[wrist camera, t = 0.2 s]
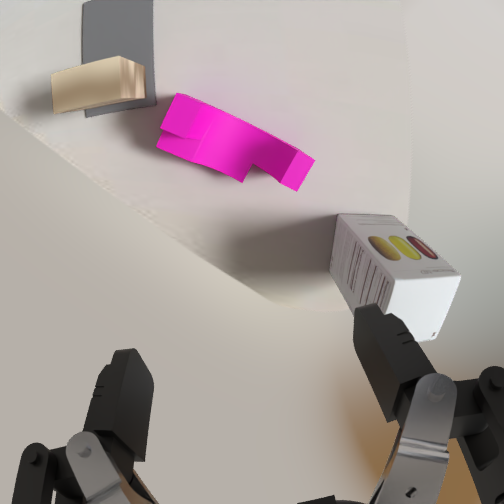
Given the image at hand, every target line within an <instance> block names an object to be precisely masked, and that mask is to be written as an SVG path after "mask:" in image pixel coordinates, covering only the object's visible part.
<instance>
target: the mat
mask: <svg viewBox="0 0 504 504" xmlns="http://www.w3.org/2000/svg"><path fill="white" fill-rule="evenodd" d="M115 56H121V57H123V58H126V59H128V60H131V61H133V62H136V63H138V64H141V65H143V66H145V75H146V93H147V98H145V99H139V100H133V101H127V102H122V103H116V104H111V105H106V106H102V107H97V108H92V109H86V118H88V117H92V116H97V115H102V114H106V113H112V112H117V111H122V110H128V109H134V108H140V107H147V106H154V105H156V96H155V78H154V52H153V0H91V1H88V2H85V3H84V9H83V64H87V63H91V62H94V61H98V60H102V59H106V58H111V57H115Z"/></svg>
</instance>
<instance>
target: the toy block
mask: <svg viewBox="0 0 504 504" xmlns="http://www.w3.org/2000/svg"><path fill="white" fill-rule="evenodd" d="M160 128H161V129H163V132H162V134H161V136H160V139H159V141H158V143H157V145H156V147H157V148H159V149H162V150H164V151H167V152H169V153H171V154H174V155H176V156H178V157H181V158H183V159H185V160H188V161H190V162H194V163H198V164H201V165H205V166H207V167H210V168H213V169H215V170H218V171H220V172H222V173H224V174H226V175H228V176H230V177H232V178H234V179H236V180H238V181H240V182H241V183H243V181H244V179H245V177H246V175H247V173H248V171H249V169H250V167H251V166H252V164H254V165H256V166H258V167H259V168H261V169H262V170H264V171H265V172H267V173H268V174H270V175H271V176H273V177H274V178H275V179H276V180H277V181H278V182H279V183H281V184H283V185H285V186H287V187H289V188H291V189H293V190H295V191H296V192H297V191H298V189H299V187H300V186H301V184H302V182H303V180H304V179H305V177H306V175H307V174H308V172H309V170H310V168H311V167H312V165H313V163H314V161H315V160H314V159H312V158H311V157H310V156H308V155H307V154H305V153H304V152H302V151H301V150H299V149H297V148H296V147H294V146H292V145H290V144H288V143H286V142H285V141H283V140H281V139H279V138H277V137H275V136H273V135H271V134H269V133H267V132H265V131H263V130H261V129H259V128H257V127H255V126H253V125H251V124H249V123H247V122H245V121H243V120H241V119H239V118H237V117H235V116H233V115H231V114H229V113H226V112H224V111H222V110H220V109H218V108H215V107H213V106H211V105H209V104H206V103H204V102H202V101H200V100H197V99H195V98H193V97H190V96H188V95H185V94H180V93H176V95H175V97H174V99H173V101H172V103H171V106H170V108H169V110H168V112H167V114H166V116H165V118H164V120H163V123H162V125H161V127H160Z"/></svg>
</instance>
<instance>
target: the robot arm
mask: <svg viewBox="0 0 504 504" xmlns="http://www.w3.org/2000/svg"><path fill="white" fill-rule="evenodd" d="M353 342H354V347H355V351H356V353H357V356H358V358H359V360H360V362H361V364H362V367H363V369H364V371H365V373H366V375H367V378H368V380H369V382H370V384H371V386H372V388H373V391H374V393H375V395H376V397H377V400H378V402H379V405H380V407H381V409H382V411H383V414H384V416H385V418H386V421H387V423H388V422H391V421H393V420H396V419H397V421H398V423H399V426H400V428H399V430H398V433H397V436H396V439H395V442H394V445H393V447H392V450H391V453H390V455H389V458H388V461H387V463H386V466H385V468H384V471H383V473H382V475H381V478H380V479H379V482H378V483H377V486H376V488H375V490H374V492H373V494H372V496H371V499H370V501H369V503H368V504H436V501H437V498H438V495H439V492H440V489H441V486H442V483H443V479H444V476H445V472H446V469H447V465H448V460H449V452H448V451H447V444H448V440H449V439H451V438H457V441H458V443H459V446H460V448H461V450H462V453H463V455H464V458H465V460H466V463H467V465H468V468H469V470H470V473H471V475H472V478H473V481H474V483H475V486H476V489H477V492H478V495H479V497H480V500H481V503H482V504H504V368H502V367H498V366H492V367H488V368H486V369H485V370H484V371H483V372H482V373H481V375H480V376H479V378H478V379H471V380H463V381H453V380H452V379H451V378H450V377H448V376H446V375H444V374H440V373H437V372H436V371H435V369H434V368H433V366H432V364H431V363H430V361H429V360H428V358H427V357H426V355H425V353H424V352H423V350H422V349H421V347H420V346H419V344H418V343H417V341H415V338H414V337H413V335H412V334H411V332H409V329H408V328H407V326H406V325H405V323H404V322H403V320H401V319H400V318H398V317H397V316H395V315H394V314H392V313H389V314H385V315H384V314H383V312H382V311H381V309H380V308H379V306H378V305H377V304H376V303H372V304H368V305H364V306H360V307H356V308H355V311H354V331H353ZM95 387H96V388H95V389H94V392H93V398H92V399H91V402H90V406H89V410H88V413H87V417H86V421H85V424H84V428H83V431H82V432H79V433H77V434H75V435H74V436H73V437H72V438H71V439H70V440H69V442H68V443H67V446H65V447H60V448H56V449H51V450H49V449H48V448H46V447H45V446H44V445H43V444H41V443H32V444H30V445H29V446H27V447H26V449H25V450H24V451H23V453H22V456H21V460H20V465H19V469H18V473H17V478H16V483H15V488H14V493H13V498H12V504H51V501H52V493H53V490H54V491H56V498H55V504H159V503H158V502H157V500H156V499H155V498H154V497H153V495H152V494H151V493H150V491H149V490H148V488H147V487H146V486H145V484H144V483H143V481H142V480H141V478H140V477H139V476H138V474H137V473H136V471H135V470H134V469H133V466H134V461H137V462H145V455H146V445H147V436H148V429H149V421H150V413H151V406H152V398H153V392H154V382H153V378H152V375H151V373H150V372H149V370H148V368H147V366H146V365H145V363H144V361H143V360H142V358H141V356H140V355H139V353H138V351H137V350H136V349H134V348H132V349H123V350H116V351H115V353H114V355H113V358H112V361H111V364H109V365H106V366H105V367H104V369H103V370H102V371H101V373H100V374H99V376H98V379H97V382H96V385H95ZM297 504H364V503H361V502H355V501H347V500H335V496H334V495H332V496H328V497H324V498H319V499H315V500H310V501H306V502H301V503H297Z"/></svg>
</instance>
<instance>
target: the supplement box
mask: <svg viewBox="0 0 504 504" xmlns="http://www.w3.org/2000/svg"><path fill="white" fill-rule="evenodd" d="M329 272H330V274H331V275H332V277H333V279H334V281H335V283H336V284H337V286H338V288H339V290H340V292H341V293H342V295H343V297H344V299H345V300H346V302H347V304H348V306H349V308H350V310H351V312H352V314H353V315H354V311H355V308H356V307H360V306H364V305H368V304H372V303H376V304H377V305H378V306H379V308H380V309H381V311H382V312H383V314H384V315H385V314H389V313H392V314H394V315H395V316H397V317H398V318H400V319H401V320H403V322H404V323H405V325H406V326H407V328H408V329H409V332H411V334H412V335H413V337H414V338H415V341H417V342H422V341H427V340H434V339H436V336H437V335H438V332H439V330H440V328H441V326H442V324H443V322H444V319H445V317H446V315H447V312H448V310H449V307H450V305H451V303H452V300H453V297H454V295H455V293H456V290H457V288H458V285H459V281H460V279H461V275H460V274H459V273H458V272H457V271H456V270H455V269H454V268H453V267H452V266H451V265H450V264H449V263H448V262H447V261H445V260H444V259H443V258H442V257H441V256H440V255H439V254H438V253H437V252H436V251H434V250H433V249H432V248H431V247H430V246H429V245H428V244H426V243H425V242H424V241H423V240H422V239H421V238H420V237H419V236H417V235H416V234H415V233H414V232H413V231H412V230H410V229H409V228H408V227H407V226H406V225H404V224H403V223H402V222H401V221H400V220H398V219H397V218H396V217H395V216H385V215H358V214H338V216H337V222H336V229H335V236H334V243H333V250H332V256H331V262H330V268H329Z"/></svg>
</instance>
